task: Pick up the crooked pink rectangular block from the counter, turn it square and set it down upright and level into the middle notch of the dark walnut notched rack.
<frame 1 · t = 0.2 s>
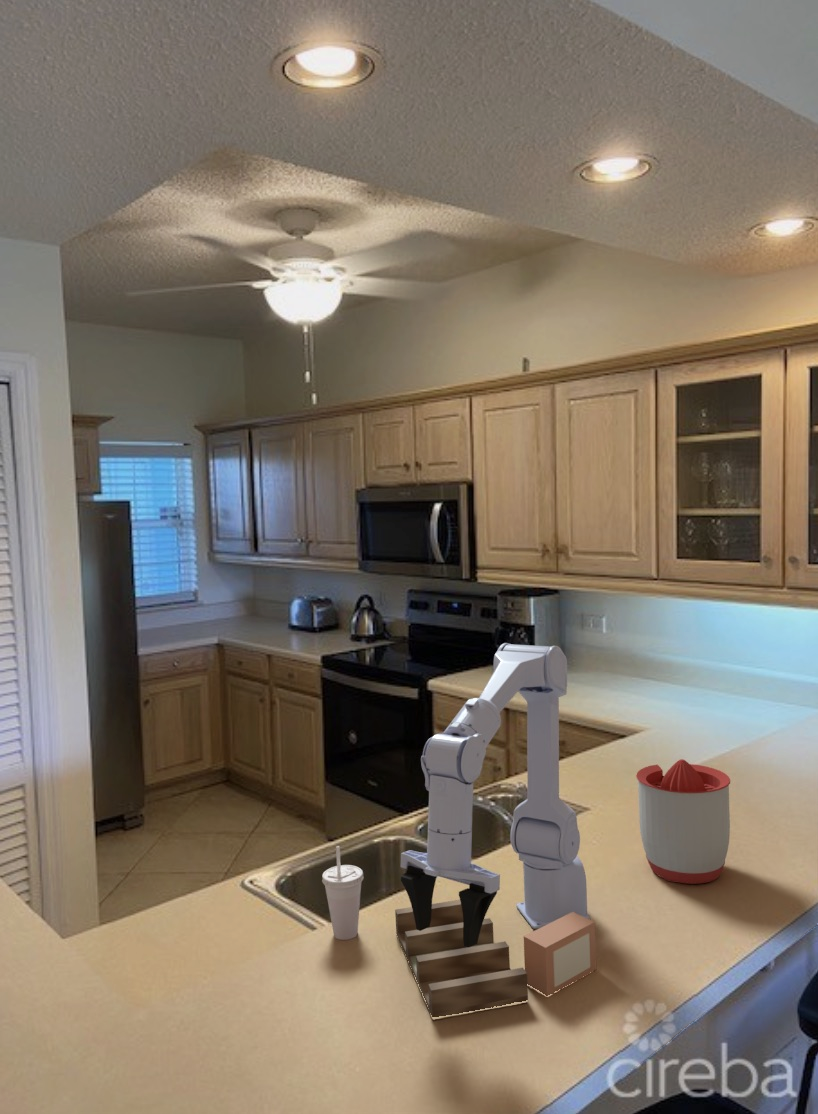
hand: (446, 936, 106), 10 cm above the counter, tool pointing down, fingers open, 7 cm apart
smoothie: (345, 935, 129), on the counter
rack: (456, 966, 118), on the counter
citrus juicer: (684, 870, 146), on the counter
pink rectangular block: (561, 978, 114), on the counter
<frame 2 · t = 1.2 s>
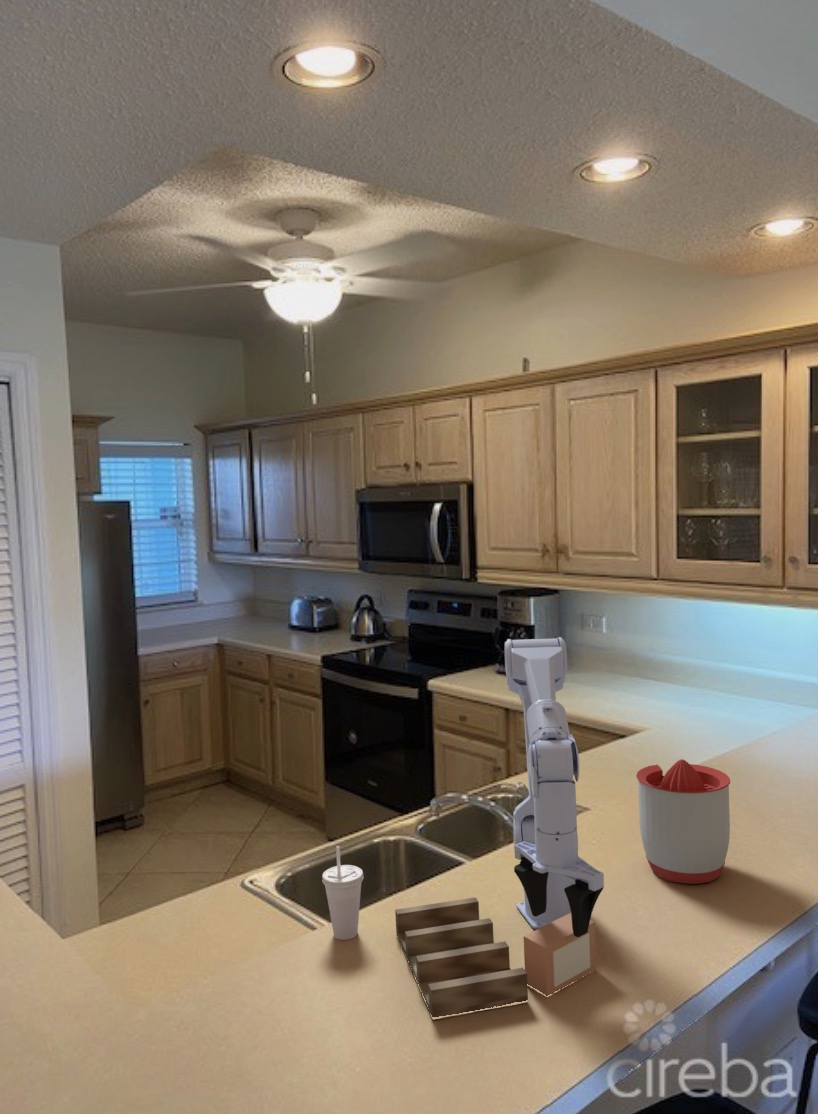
hand: (559, 923, 113), 8 cm above the counter, tool pointing down, fingers open, 7 cm apart
nothing on the counter moved.
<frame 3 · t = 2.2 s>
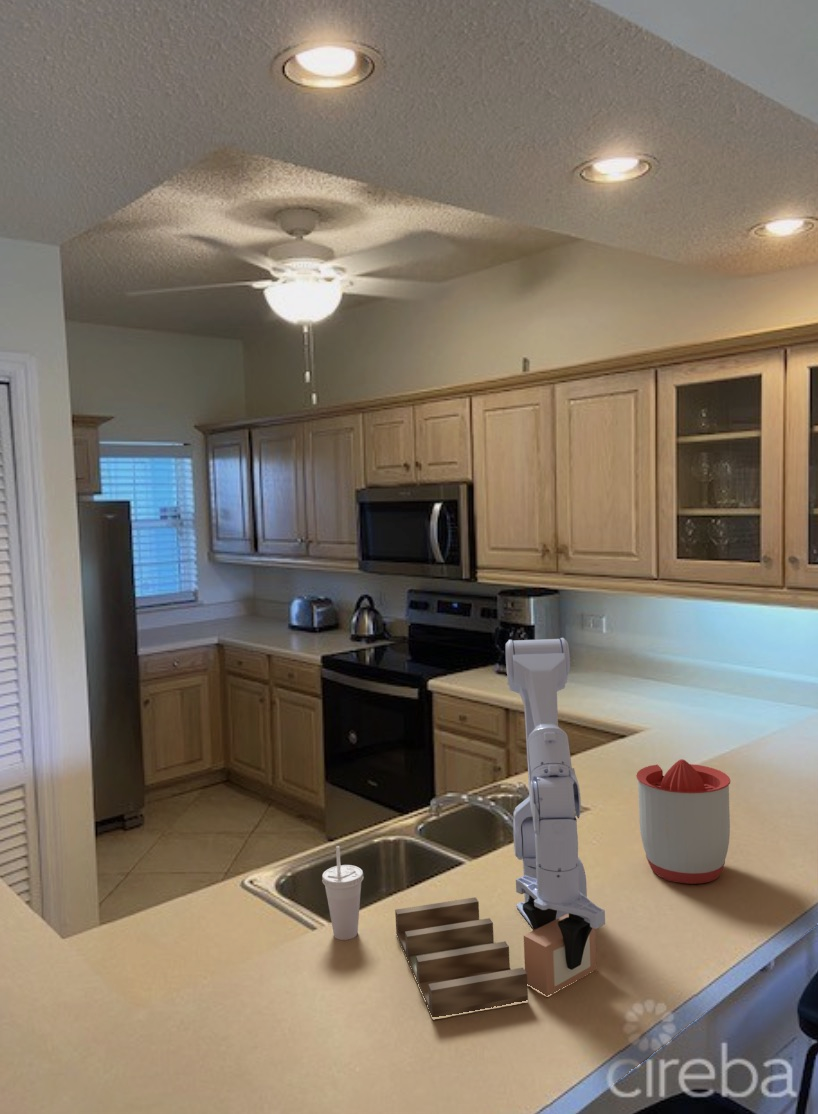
hand: (560, 958, 114), 3 cm above the counter, tool pointing down, fingers closed on pink rectangular block, 4 cm apart
pink rectangular block: (561, 977, 114), on the counter, touching gripper
everything else where it was.
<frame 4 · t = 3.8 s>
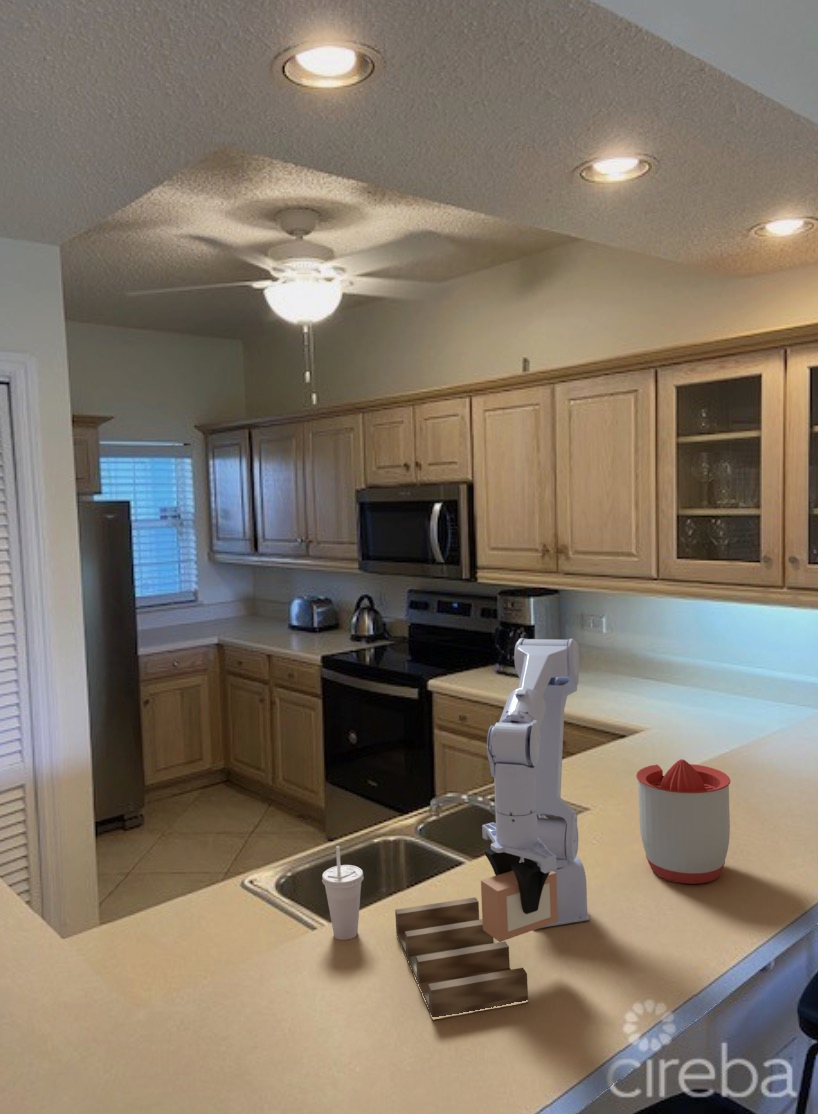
hand: (519, 904, 115), 10 cm above the counter, tool pointing down, fingers closed on pink rectangular block, 4 cm apart
pink rectangular block: (520, 925, 115), point 7 cm above the counter, touching gripper
everything else where it was.
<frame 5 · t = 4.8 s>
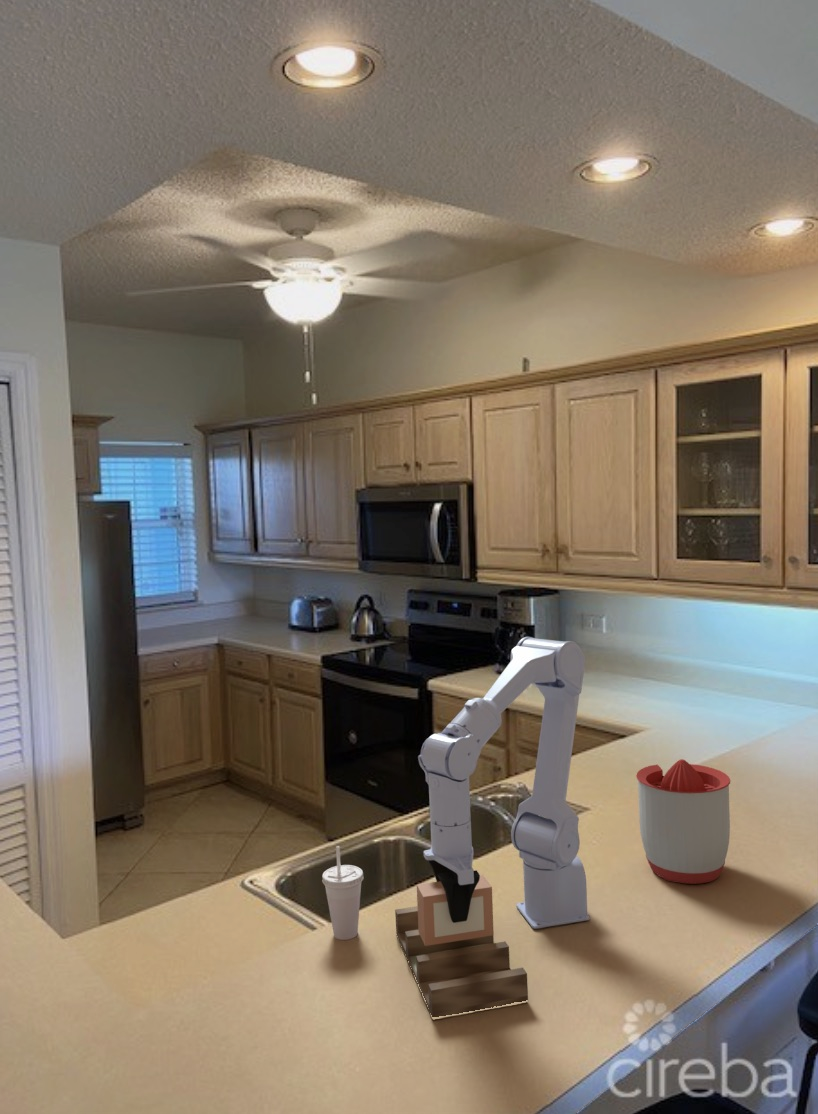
hand: (454, 912, 117), 8 cm above the counter, tool pointing down, fingers closed on pink rectangular block, 4 cm apart
pink rectangular block: (455, 933, 118), point 5 cm above the counter, touching gripper
everything else where it was.
when the fingers open (5 cm above the counter, at t = 5.7 s): pink rectangular block stays where it is, resting on rack.
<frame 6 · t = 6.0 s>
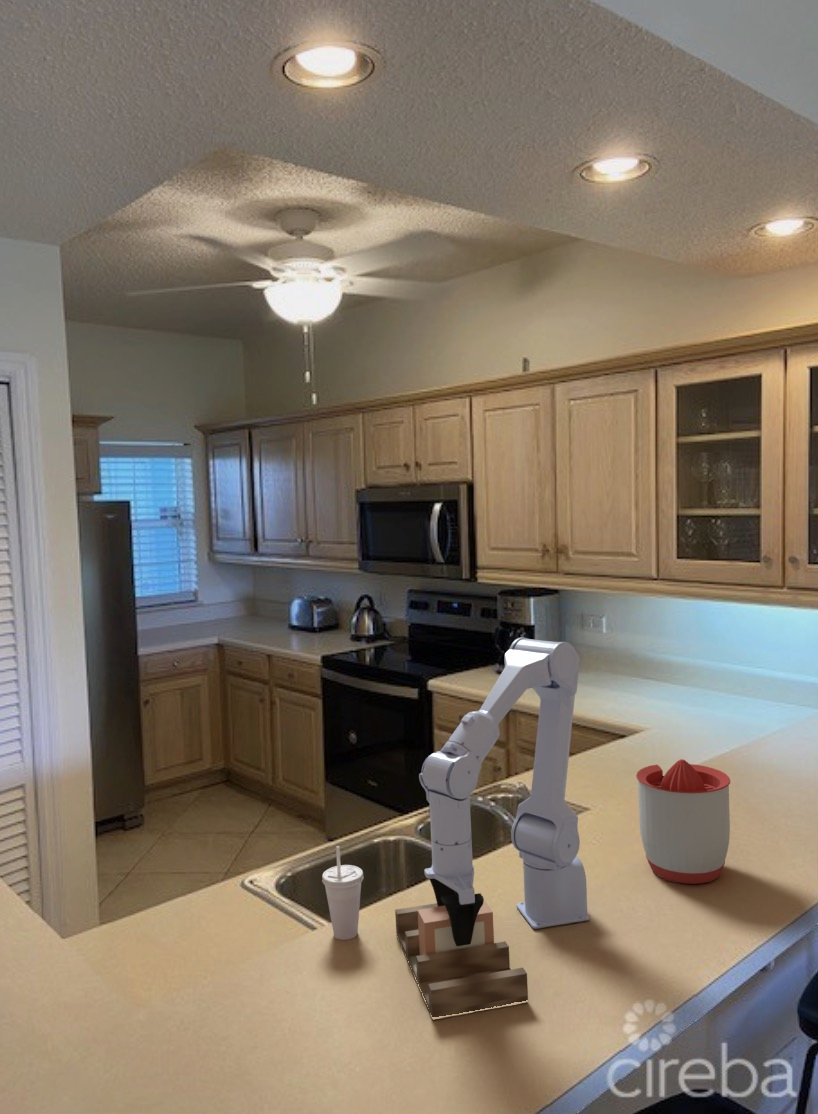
hand: (455, 930, 118), 5 cm above the counter, tool pointing down, fingers open, 7 cm apart
pink rectangular block: (457, 958, 118), point 1 cm above the counter, touching rack
everything else where it was.
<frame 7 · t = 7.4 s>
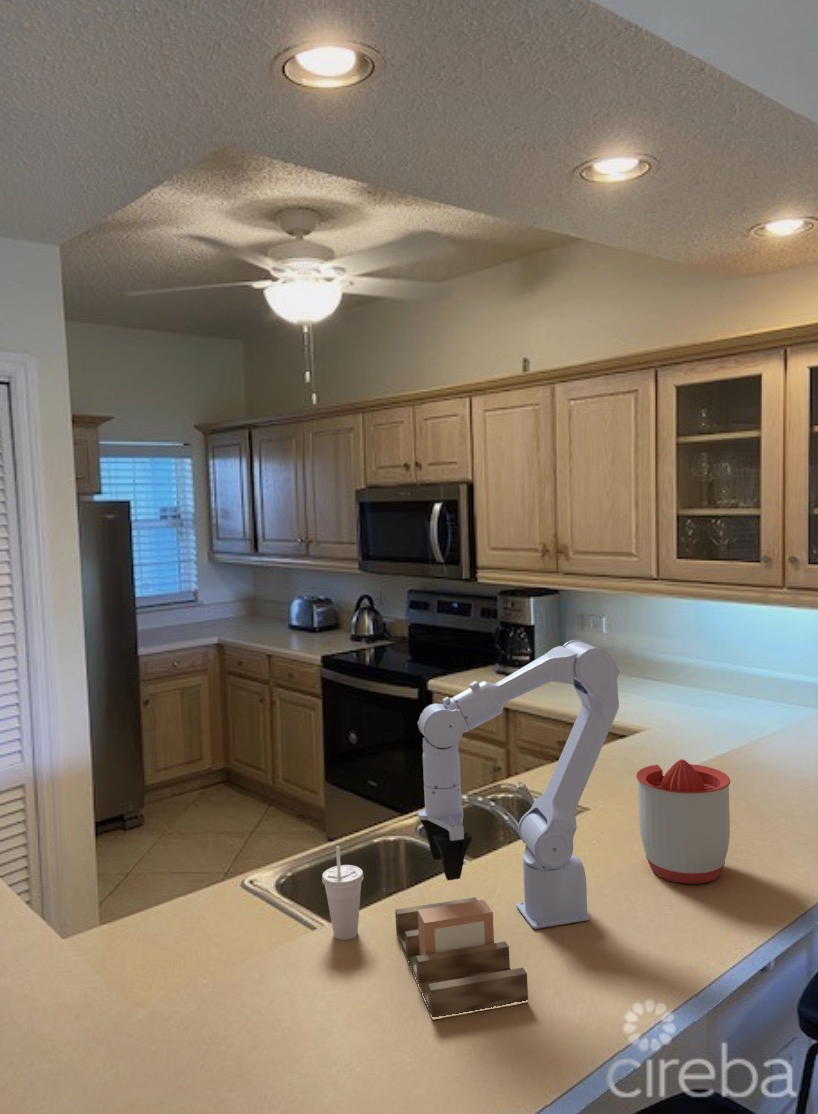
hand: (446, 868, 129), 9 cm above the counter, tool pointing down, fingers open, 7 cm apart
nothing on the counter moved.
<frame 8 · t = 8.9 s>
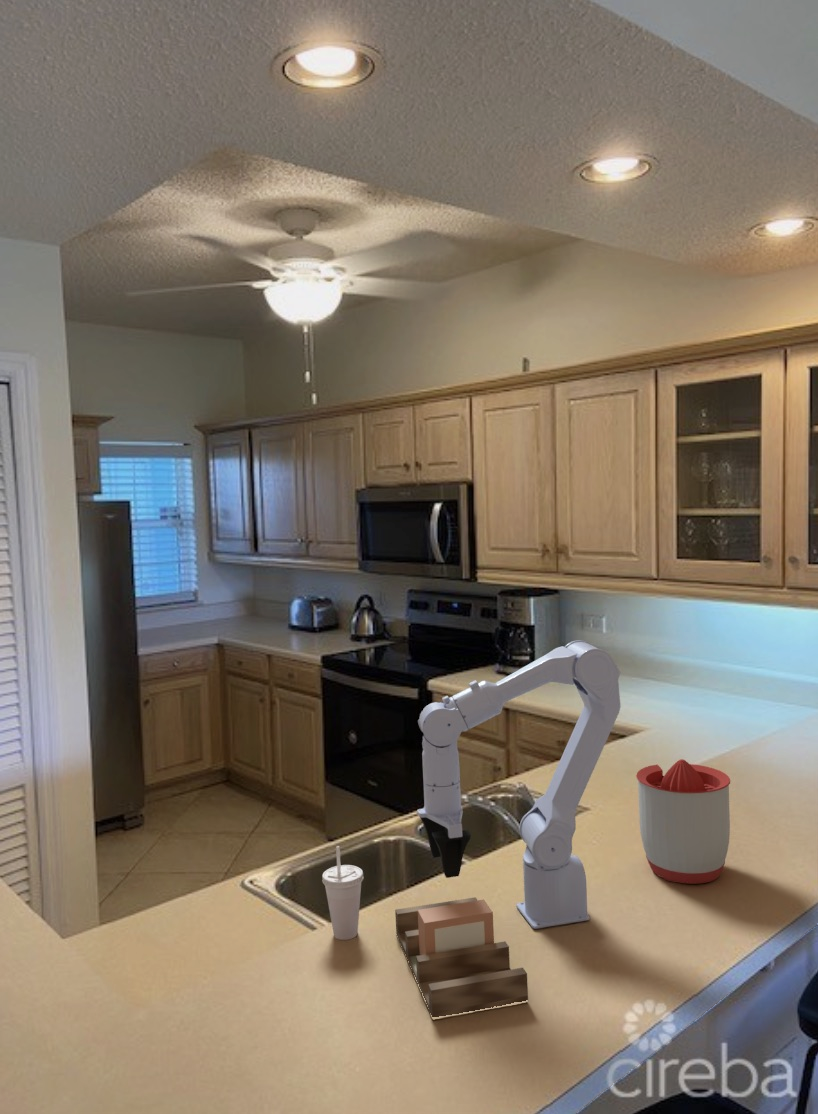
hand: (445, 865, 130), 9 cm above the counter, tool pointing down, fingers open, 7 cm apart
nothing on the counter moved.
at the end: pink rectangular block 0.1 cm off-centre on the rack, point 1.1 cm above the rack's base; pink rectangular block tilted 0°; the gripper is holding nothing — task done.
